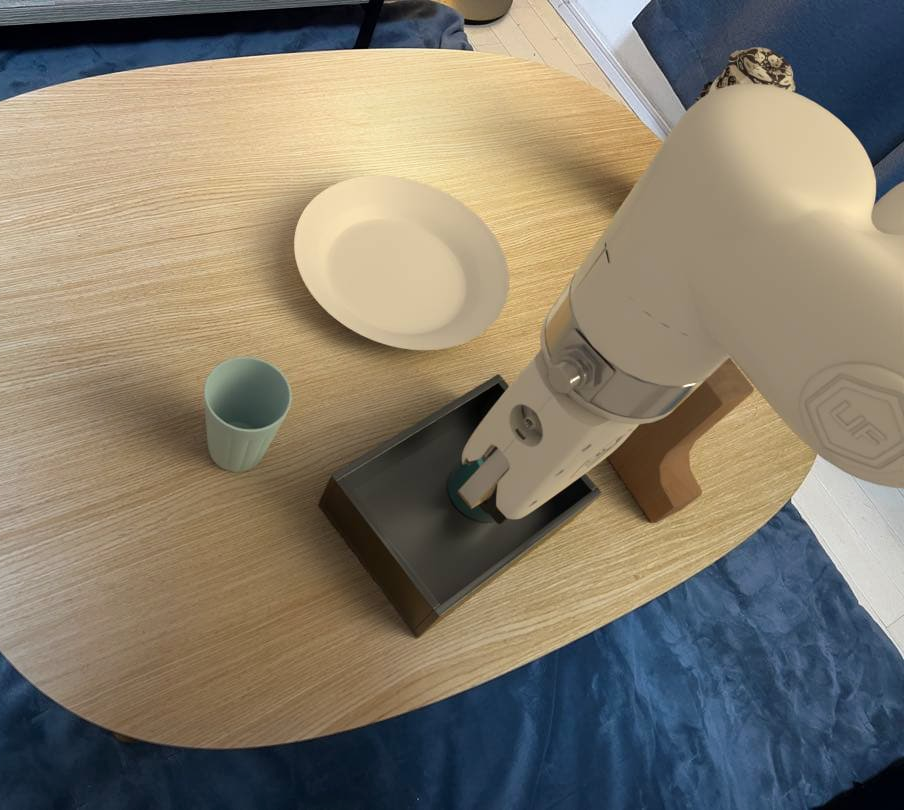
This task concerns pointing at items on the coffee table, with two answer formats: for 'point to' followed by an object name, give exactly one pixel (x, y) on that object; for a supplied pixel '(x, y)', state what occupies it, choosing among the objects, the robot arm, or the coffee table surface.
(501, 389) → the dark grey shallow box
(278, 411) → the cup
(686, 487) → the wooden block
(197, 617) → the coffee table surface
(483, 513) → the pot
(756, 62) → the decorative candle
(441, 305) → the white plate
